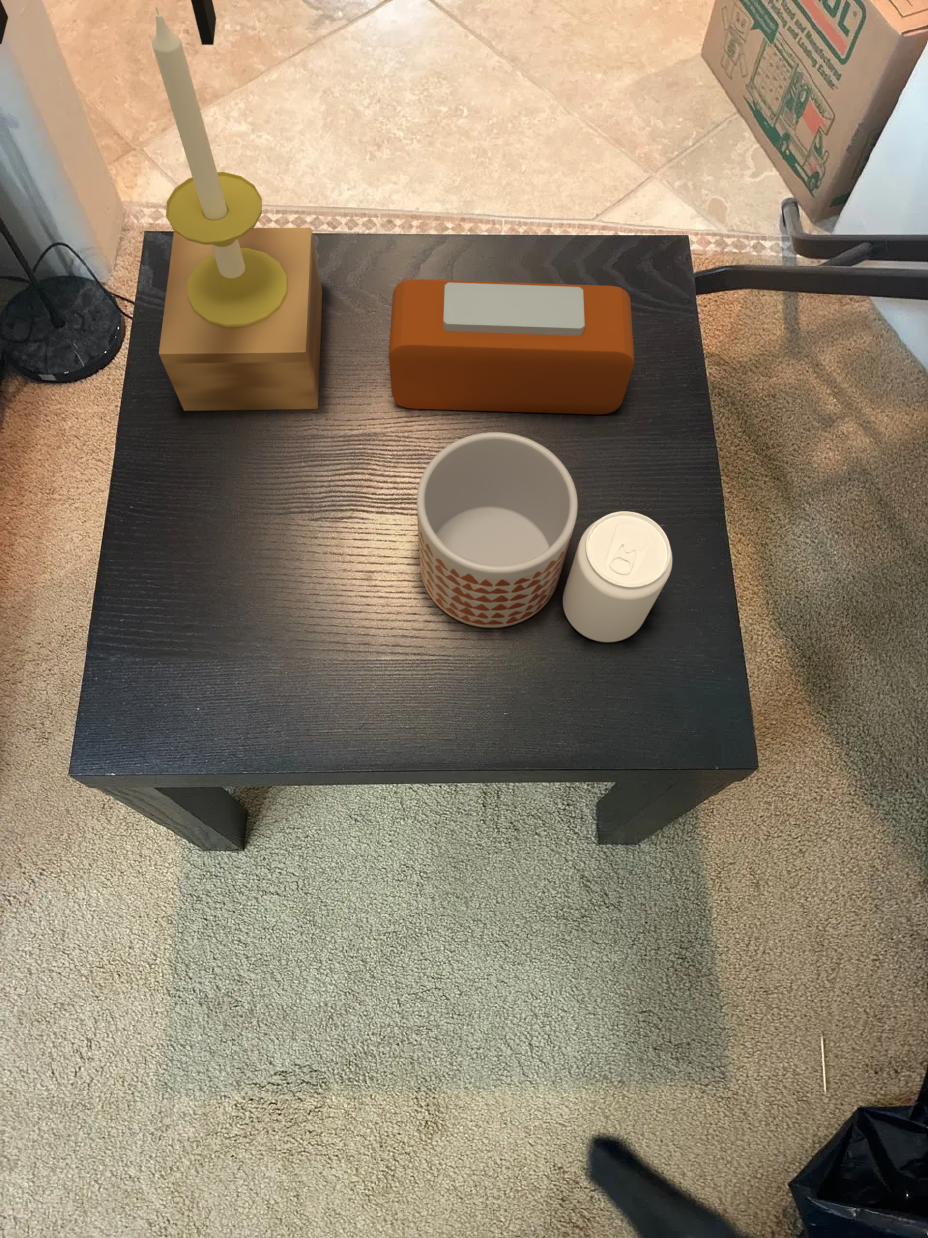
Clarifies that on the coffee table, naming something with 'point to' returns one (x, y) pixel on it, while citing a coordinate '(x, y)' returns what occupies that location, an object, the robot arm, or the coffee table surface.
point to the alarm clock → (510, 346)
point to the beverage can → (616, 576)
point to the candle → (215, 211)
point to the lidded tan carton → (246, 333)
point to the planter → (494, 528)
